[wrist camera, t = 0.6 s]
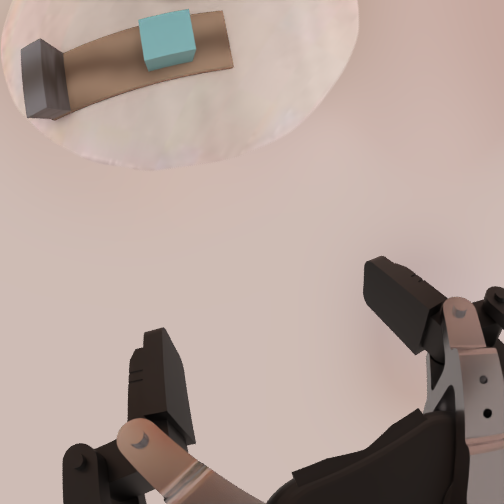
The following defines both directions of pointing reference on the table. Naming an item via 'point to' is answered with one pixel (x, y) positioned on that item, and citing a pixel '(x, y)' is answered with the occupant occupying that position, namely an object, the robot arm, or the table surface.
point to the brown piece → (111, 67)
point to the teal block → (167, 39)
